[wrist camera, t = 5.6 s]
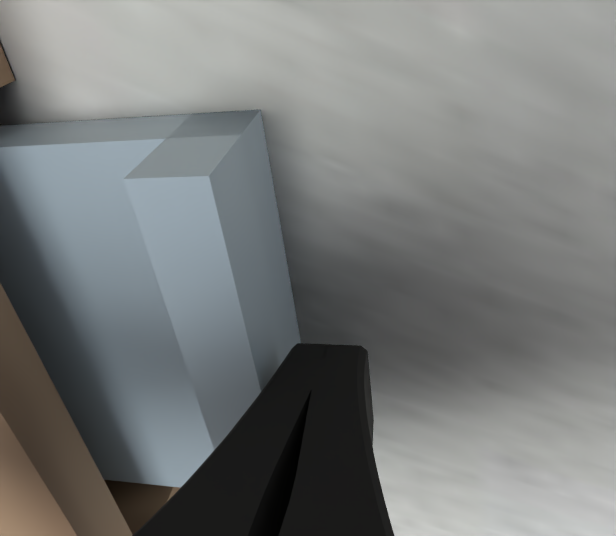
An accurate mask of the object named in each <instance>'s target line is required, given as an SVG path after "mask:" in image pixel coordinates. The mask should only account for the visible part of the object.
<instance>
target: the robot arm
mask: <svg viewBox="0 0 616 536" xmlns="http://www.w3.org/2000/svg"><path fill="white" fill-rule="evenodd" d="M373 421H374V420H373V409H372V397H371V386H370V374H369V363H368V351H367V350H366V349H364V348H363V347H362V346H356V345H330V344H303V343H297V344H296V345H295V346H294V347H293V348H292V349H291V350H290V352H289V353H288V355H287V356H286V358H285V359H284V361H283V362H282V363H281V365H280V366H279V368H278V369H277V371H276V372H275V373H274V375H273V376H272V378H271V379H270V380H269V382H268V383H267V384H266V386H265V387H264V389H263V390H262V391H261V393H260V394H259V395H258V397H257V398H256V399H255V401H254V402H253V403H252V404H251V406H250V407H249V408H248V410H247V411H246V412H245V413H244V415H243V416H242V417H241V418H240V420H239V421H238V422H237V423H236V425H235V426H234V427H233V429H232V430H231V431H230V432H229V433H228V435H227V436H226V437H225V438H224V440H223V441H222V442H221V443H220V444H219V445H218V446H217V448H216V449H215V450H214V451H213V452H212V453H211V454H210V456H209V457H208V458H207V459H206V460H205V461H204V462H203V464H202V465H201V466H200V467H199V468H198V469H197V470H196V472H195V473H194V474H193V475H192V476H191V477H190V478H189V479H188V480H187V481H186V483H185V484H184V485H183V486H182V487H181V488H180V489H179V490H178V491H177V492H176V493H175V494H174V495H173V496H172V497H171V498H170V499H169V500H168V501H167V502H166V503H165V504H164V505H163V506H162V507H161V508H160V509H159V510H158V511H157V512H156V513H155V514H154V515H153V516H152V517H151V518H150V519H149V520H148V521H147V522H146V523H145V524H144V525H143V526H142V527H141V528H140V529H139V530H138V531H137V532H136V533H134V534H133V535H132V536H394V533H393V530H392V526H391V523H390V519H389V516H388V512H387V508H386V504H385V501H384V497H383V493H382V489H381V484H380V480H379V476H378V472H377V467H376V463H375V458H374V454H373V448H372V445H373Z"/></svg>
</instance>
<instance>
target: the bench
mask: <svg viewBox="0 0 616 536" xmlns="http://www.w3.org/2000/svg"><path fill="white" fill-rule="evenodd" d="M13 81H15V79H14V76H13V74H12V72H11V69H10V67H9V64H8V62H7V59H6V57H5V54H4V52H3V49H2V47H1V45H0V87H2V86H4V85H6V84H9V83H11V82H13ZM179 489H180V487H170V486H160V485H151V484H141V483H132V482H122V481H112V480H104V479H103V477H102V475H101V474H100V472H99V470H98V468H97V466H96V464H95V462H94V460H93V458H92V456H91V454H90V453H89V451H88V449H87V447H86V445H85V443H84V441H83V439H82V437H81V435H80V434H79V432H78V430H77V428H76V426H75V424H74V422H73V420H72V418H71V416H70V414H69V413H68V411H67V409H66V407H65V405H64V403H63V401H62V399H61V397H60V395H59V394H58V392H57V390H56V388H55V386H54V384H53V382H52V380H51V378H50V376H49V374H48V373H47V371H46V369H45V367H44V365H43V363H42V361H41V359H40V357H39V355H38V354H37V352H36V350H35V348H34V346H33V344H32V342H31V340H30V338H29V336H28V335H27V333H26V331H25V329H24V327H23V325H22V323H21V321H20V319H19V317H18V315H17V314H16V312H15V310H14V308H13V306H12V304H11V302H10V300H9V298H8V296H7V295H6V293H5V291H4V289H3V287H2V285H1V283H0V536H132V535H133V534H134V533H136V532H137V531H138V530H139V529H140V528H141V527H142V526H143V525H144V524H145V523H146V522H147V521H148V520H149V519H150V518H151V517H152V516H153V515H154V514H155V513H156V512H157V511H158V510H159V509H160V508H161V507H162V506H163V505H164V504H165V503H166V502H167V501H168V500H169V499H170V498H171V497H172V496H173V495H174V494H175V493H176V492H177V491H178V490H179Z"/></svg>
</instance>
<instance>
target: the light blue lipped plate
mask: <svg viewBox="0 0 616 536" xmlns="http://www.w3.org/2000/svg"><path fill="white" fill-rule="evenodd" d="M0 283H1V285H2V287H3V289H4V291H5V293H6V295H7V296H8V298H9V300H10V302H11V304H12V306H13V308H14V310H15V312H16V314H17V315H18V317H19V319H20V321H21V323H22V325H23V327H24V329H25V331H26V333H27V335H28V336H29V338H30V340H31V342H32V344H33V346H34V348H35V350H36V352H37V354H38V355H39V357H40V359H41V361H42V363H43V365H44V367H45V369H46V371H47V373H48V374H49V376H50V378H51V380H52V382H53V384H54V386H55V388H56V390H57V392H58V394H59V395H60V397H61V399H62V401H63V403H64V405H65V407H66V409H67V411H68V413H69V414H70V416H71V418H72V420H73V422H74V424H75V426H76V428H77V430H78V432H79V434H80V435H81V437H82V439H83V441H84V443H85V445H86V447H87V449H88V451H89V453H90V454H91V456H92V458H93V460H94V462H95V464H96V466H97V468H98V470H99V472H100V474H101V475H102V477H103V479H104V480H112V481H122V482H132V483H141V484H151V485H160V486H170V487H180V488H181V487H182V486H183V485H184V484H185V483H186V481H187V480H188V479H189V478H190V477H191V476H192V475H193V474H194V473H195V472H196V470H197V469H198V468H199V467H200V466H201V465H202V464H203V462H204V461H205V460H206V459H207V458H208V457H209V456H210V454H211V453H212V452H213V451H214V450H215V449H216V448H217V446H218V445H219V444H220V443H221V442H222V441H223V440H224V438H225V437H226V436H227V435H228V433H229V432H230V431H231V430H232V429H233V427H234V426H235V425H236V423H237V422H238V421H239V420H240V418H241V417H242V416H243V415H244V413H245V412H246V411H247V410H248V408H249V407H250V406H251V404H252V403H253V402H254V401H255V399H256V398H257V397H258V395H259V394H260V393H261V391H262V390H263V389H264V387H265V386H266V384H267V383H268V382H269V380H270V379H271V378H272V376H273V375H274V373H275V372H276V371H277V369H278V368H279V366H280V365H281V363H282V362H283V361H284V359H285V358H286V356H287V355H288V353H289V352H290V350H291V349H292V348H293V347H294V346H295V345H296V344H297V343H301V340H300V334H299V328H298V323H297V317H296V311H295V305H294V300H293V294H292V288H291V282H290V276H289V271H288V265H287V259H286V253H285V248H284V242H283V236H282V230H281V224H280V219H279V213H278V207H277V201H276V196H275V190H274V184H273V178H272V172H271V167H270V161H269V155H268V149H267V144H266V138H265V132H264V126H263V120H262V115H261V110H245V111H229V112H213V113H196V114H180V115H164V116H148V117H132V118H116V119H100V120H84V121H68V122H52V123H36V124H20V125H4V126H0Z"/></svg>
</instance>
